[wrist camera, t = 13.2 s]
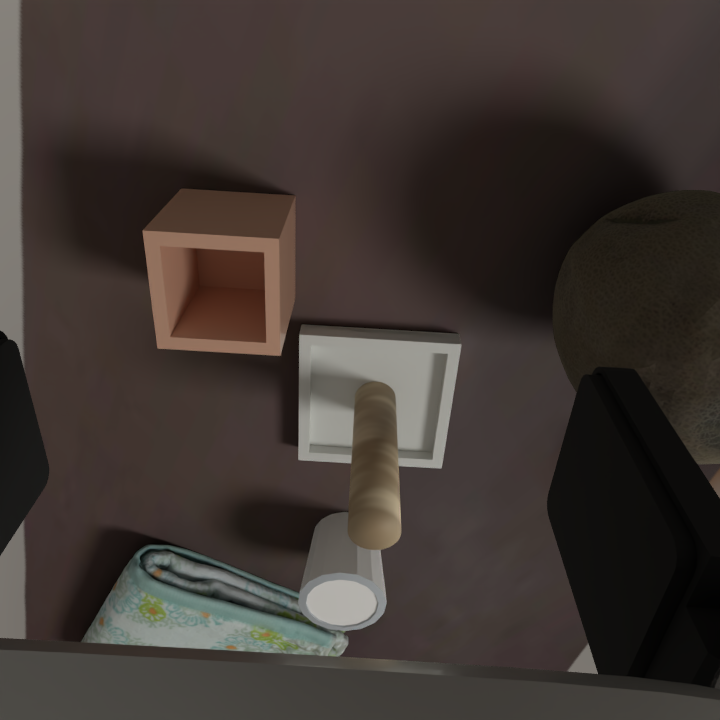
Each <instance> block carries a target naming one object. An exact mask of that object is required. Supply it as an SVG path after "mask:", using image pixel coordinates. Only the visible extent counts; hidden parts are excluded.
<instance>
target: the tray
mask: <svg viewBox="0 0 720 720" xmlns="http://www.w3.org/2000/svg"><path fill="white" fill-rule="evenodd" d="M460 350H461V340H460V336H459V334H455V333H438V332H422V331H405V330H389V329H372V328H356V327H339V326H323V325H306V324H302V325H301V329H300V334H299V456H298V460H306V461H323V462H340V463H351V459H352V441H353V423H354V405H355V394H356V392H357V390H358V389H359V388H360V387H361V386H362V385H364V384H366V383H369V382H382V383H385V384H387V385H388V386H390V387H391V388H392V389H393V391H394V393H395V396H396V416H397V440H398V464H399V466H408V467H425V468H442V463H443V456H444V450H445V444H446V438H447V431H448V425H449V419H450V413H451V406H452V400H453V394H454V388H455V381H456V375H457V369H458V363H459V356H460Z"/></svg>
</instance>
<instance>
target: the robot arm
mask: <svg viewBox="0 0 720 720" xmlns="http://www.w3.org/2000/svg"><path fill="white" fill-rule="evenodd" d="M48 476H49V464H48V460H47V456H46V452H45V449H44V445H43V441H42V437H41V433H40V429H39V425H38V422H37V418H36V414H35V410H34V406H33V402H32V399H31V395H30V391H29V387H28V383H27V379H26V376H25V372H24V368H23V364H22V360H21V356H20V353H19V349H18V346H17V344H16V343H15V342H14V341H13V340H8V338H7V336H6V335H5V334H4V333H3V332H2V331H0V555H1V553H2V552H3V551H4V549H5V548H6V546H7V544H8V543H9V541H10V540H11V538H12V537H13V535H14V534H15V532H16V531H17V529H18V528H19V526H20V524H21V523H22V521H23V520H24V518H25V517H26V515H27V514H28V512H29V511H30V509H31V508H32V506H33V505H34V503H35V501H36V500H37V498H38V497H39V495H40V494H41V492H42V491H43V489H44V488H45V486H46V484H47V480H48ZM547 509H548V516H549V519H550V522H551V526H552V529H553V532H554V535H555V538H556V541H557V545H558V548H559V551H560V554H561V557H562V560H563V564H564V567H565V570H566V573H567V576H568V579H569V583H570V586H571V589H572V592H573V595H574V599H575V602H576V605H577V608H578V611H579V614H580V618H581V621H582V624H583V627H584V630H585V633H586V637H587V640H588V643H589V646H590V649H591V652H592V655H593V659H594V662H595V665H596V668H597V671H598V674H589V673H577V672H564V671H552V670H539V669H526V668H514V667H497V666H481V665H465V664H449V663H433V662H417V661H401V660H384V659H368V658H352V657H336V656H319V655H302V654H284V653H267V652H249V651H232V650H214V649H196V648H178V647H160V646H142V645H124V644H106V643H87V642H67V641H48V640H28V639H9V638H7V639H6V638H0V720H720V498H719V497H718V495H717V494H716V492H715V491H714V489H713V488H712V486H711V485H710V483H709V481H708V480H707V478H706V477H705V475H704V474H703V472H702V471H701V469H700V468H699V466H698V465H697V463H696V461H695V460H694V458H693V457H692V456H691V454H690V453H689V451H688V450H687V448H686V446H685V445H684V443H683V442H682V440H681V439H680V437H679V436H678V434H677V433H676V431H675V430H674V428H673V427H672V425H671V423H670V422H669V420H668V419H667V417H666V416H665V414H664V413H663V411H662V410H661V408H660V407H659V405H658V404H657V402H656V401H655V399H654V397H653V396H652V394H651V393H650V391H649V390H648V388H647V387H646V385H645V384H644V382H643V381H642V379H641V378H640V376H639V374H638V373H637V372H636V371H635V370H634V369H631V368H616V367H600V366H598V367H597V368H595V370H594V371H593V372H592V375H589V374H585V375H583V377H582V378H581V381H580V384H579V387H578V391H577V394H576V398H575V401H574V405H573V408H572V412H571V415H570V419H569V423H568V426H567V430H566V433H565V437H564V440H563V444H562V447H561V451H560V454H559V458H558V461H557V465H556V469H555V472H554V476H553V479H552V483H551V486H550V490H549V494H548V500H547Z"/></svg>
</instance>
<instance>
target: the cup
mask: <svg viewBox="0 0 720 720" xmlns="http://www.w3.org/2000/svg"><path fill="white" fill-rule="evenodd" d="M142 231H143V239H144V246H145V254H146V262H147V270H148V278H149V285H150V293H151V301H152V309H153V317H154V324H155V332H156V340H157V348H158V349H175V350H191V351H208V352H225V353H241V354H258V355H274V356H281V352H282V348H283V344H284V340H285V336H286V332H287V329H288V325H289V321H290V317H291V313H292V309H293V305H294V301H295V195H279V194H263V193H247V192H231V191H215V190H199V189H183V188H181V189H180V190H179V191H178V193H177V194H176V195H175V196H174V197H173V198H172V199H171V200H170V201H169V202H168V203H167V204H166V206H165V207H164V208H163V209H162V210H161V211H160V212H159V213H158V214H157V215H156V216H155V217H154V219H153V220H152V221H151V222H150V223H149V224H148V225H147V226H146V227H145V228H144V229H143V230H142Z"/></svg>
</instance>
